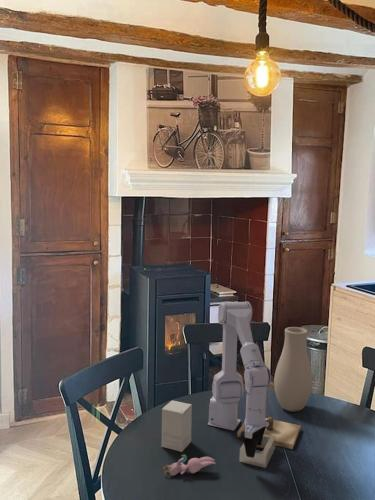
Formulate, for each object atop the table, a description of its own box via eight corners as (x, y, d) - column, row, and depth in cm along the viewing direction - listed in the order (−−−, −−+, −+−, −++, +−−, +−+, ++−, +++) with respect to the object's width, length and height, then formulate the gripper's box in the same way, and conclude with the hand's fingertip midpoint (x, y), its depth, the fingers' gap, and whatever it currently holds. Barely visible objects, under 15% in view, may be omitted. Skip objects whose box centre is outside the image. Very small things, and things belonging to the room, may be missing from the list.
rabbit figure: (166, 484, 141) (218, 473, 144) (163, 465, 141) (216, 453, 143) (163, 472, 148) (214, 461, 150) (160, 453, 147) (211, 442, 149)
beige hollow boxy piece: (239, 461, 152) (239, 448, 151) (250, 442, 163) (250, 431, 162) (265, 468, 149) (266, 455, 148) (275, 448, 160) (275, 436, 159)
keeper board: (237, 436, 166) (237, 420, 166) (249, 418, 179) (249, 403, 178) (292, 449, 160) (293, 432, 159) (300, 429, 172) (301, 414, 172)
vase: (272, 399, 196) (276, 323, 192) (308, 402, 194) (313, 325, 190) (273, 415, 183) (277, 334, 178) (312, 418, 181) (317, 336, 177)
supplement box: (191, 441, 162) (192, 404, 161) (181, 452, 156) (182, 413, 154) (171, 436, 165) (172, 399, 164) (160, 446, 159) (161, 408, 157)
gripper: (263, 419, 140) (260, 465, 142) (275, 399, 154) (272, 442, 155) (238, 414, 143) (236, 459, 145) (252, 395, 156) (250, 437, 158)
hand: (253, 450), depth 150 cm, fingers open, 7 cm apart
